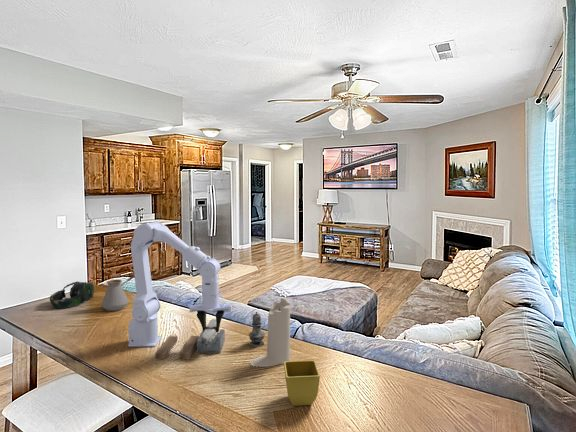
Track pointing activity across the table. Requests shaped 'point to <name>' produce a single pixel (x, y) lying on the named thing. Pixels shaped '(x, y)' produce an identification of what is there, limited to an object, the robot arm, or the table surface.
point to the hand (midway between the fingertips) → (211, 331)
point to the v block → (214, 345)
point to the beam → (171, 342)
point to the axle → (209, 332)
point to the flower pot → (302, 381)
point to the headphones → (72, 295)
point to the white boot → (277, 336)
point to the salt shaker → (256, 332)
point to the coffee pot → (115, 296)
